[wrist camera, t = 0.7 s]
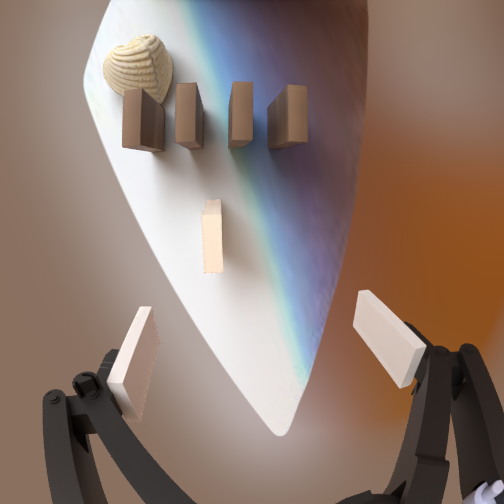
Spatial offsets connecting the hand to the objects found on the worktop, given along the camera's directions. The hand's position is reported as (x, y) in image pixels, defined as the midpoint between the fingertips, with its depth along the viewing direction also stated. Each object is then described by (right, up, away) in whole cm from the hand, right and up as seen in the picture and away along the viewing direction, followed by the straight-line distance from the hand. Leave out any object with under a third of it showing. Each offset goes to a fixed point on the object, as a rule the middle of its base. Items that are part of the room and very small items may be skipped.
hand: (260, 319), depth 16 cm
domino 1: (-11, +18, +11) cm, 24 cm away
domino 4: (-2, +18, +12) cm, 22 cm away
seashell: (-14, +25, +9) cm, 30 cm away
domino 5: (+2, +18, +13) cm, 23 cm away
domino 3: (-5, +8, +16) cm, 18 cm away
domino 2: (-7, +18, +12) cm, 23 cm away
